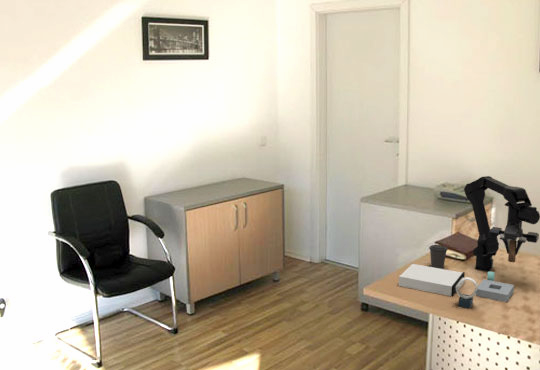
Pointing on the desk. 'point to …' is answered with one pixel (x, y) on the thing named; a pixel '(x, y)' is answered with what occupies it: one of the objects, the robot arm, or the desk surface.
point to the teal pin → (490, 276)
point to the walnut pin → (512, 250)
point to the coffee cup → (438, 256)
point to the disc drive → (431, 279)
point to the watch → (464, 299)
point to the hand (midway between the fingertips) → (512, 254)
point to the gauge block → (495, 290)
